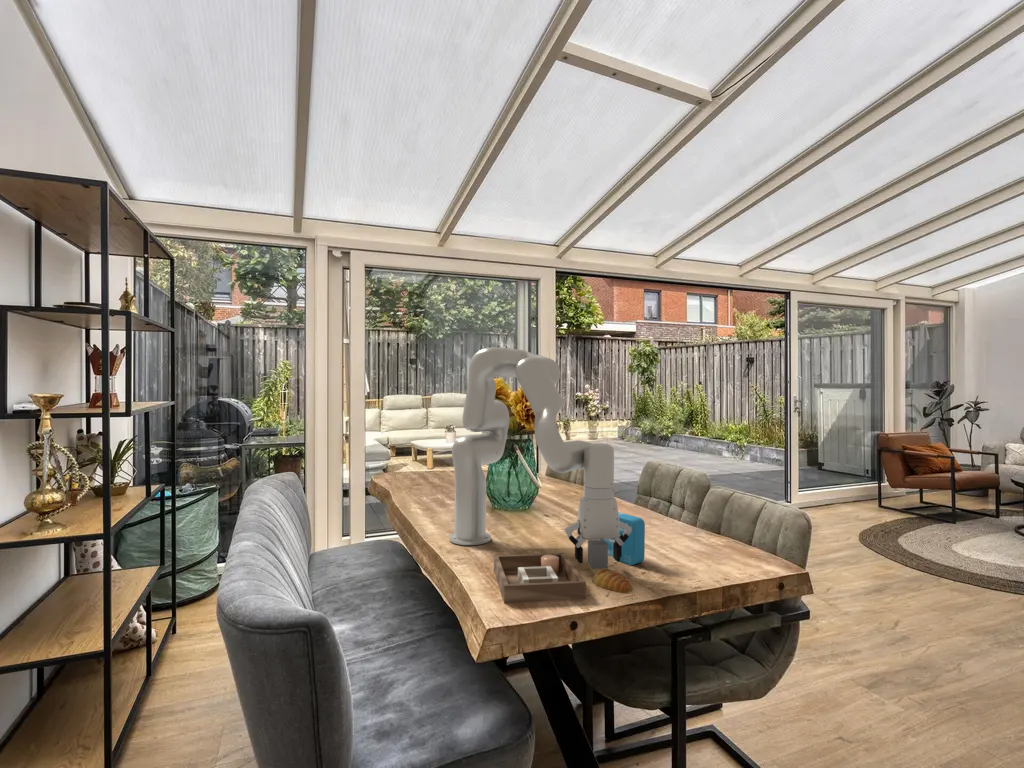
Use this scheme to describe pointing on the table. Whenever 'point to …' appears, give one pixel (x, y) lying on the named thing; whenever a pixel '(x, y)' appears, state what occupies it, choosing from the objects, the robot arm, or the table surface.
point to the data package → (630, 540)
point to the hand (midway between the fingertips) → (598, 560)
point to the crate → (537, 579)
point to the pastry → (611, 581)
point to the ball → (551, 562)
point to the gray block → (597, 555)
